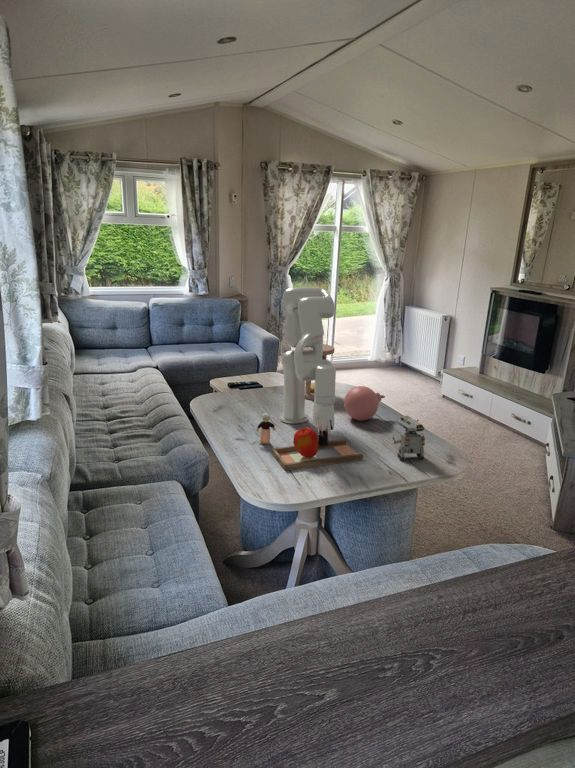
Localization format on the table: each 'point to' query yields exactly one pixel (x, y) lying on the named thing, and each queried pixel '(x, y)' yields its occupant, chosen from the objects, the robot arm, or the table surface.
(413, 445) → the figurine
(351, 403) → the balloon
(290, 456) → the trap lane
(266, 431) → the grandmother figurine
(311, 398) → the hourglass
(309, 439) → the apple
